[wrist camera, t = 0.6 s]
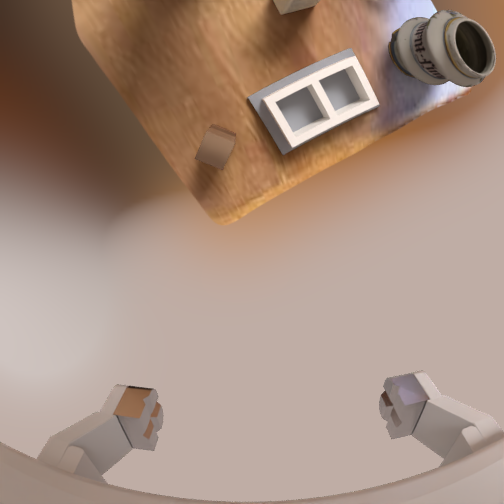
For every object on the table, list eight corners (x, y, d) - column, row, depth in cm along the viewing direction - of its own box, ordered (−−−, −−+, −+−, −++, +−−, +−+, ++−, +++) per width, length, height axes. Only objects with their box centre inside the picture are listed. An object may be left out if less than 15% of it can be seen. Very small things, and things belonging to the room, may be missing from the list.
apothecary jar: (389, 11, 34) (449, -11, 18) (442, 41, 36) (508, 38, 20) (376, 67, 40) (437, 63, 24) (430, 94, 42) (497, 106, 26)
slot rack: (282, 153, 48) (286, 160, 43) (247, 97, 43) (248, 97, 38) (377, 105, 43) (390, 107, 39) (348, 48, 38) (360, 44, 34)
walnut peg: (213, 123, 45) (206, 131, 36) (235, 133, 46) (235, 143, 37) (203, 145, 46) (194, 158, 38) (225, 155, 47) (222, 170, 39)
